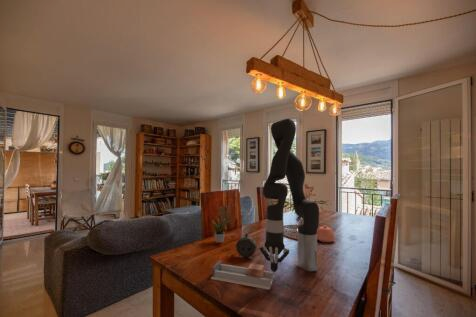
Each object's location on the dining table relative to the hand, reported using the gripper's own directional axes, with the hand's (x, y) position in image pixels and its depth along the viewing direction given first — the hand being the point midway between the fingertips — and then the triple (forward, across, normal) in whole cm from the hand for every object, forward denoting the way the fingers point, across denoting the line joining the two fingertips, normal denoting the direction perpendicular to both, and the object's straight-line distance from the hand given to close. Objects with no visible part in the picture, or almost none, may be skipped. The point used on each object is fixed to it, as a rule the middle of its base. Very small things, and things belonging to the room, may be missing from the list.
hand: (274, 271), depth 93 cm
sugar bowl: (+5, -22, -70) cm, 73 cm away
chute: (+6, +14, 0) cm, 15 cm away
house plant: (+6, +43, -41) cm, 60 cm away
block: (+5, +8, 0) cm, 9 cm away
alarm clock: (+6, +19, -22) cm, 30 cm away
